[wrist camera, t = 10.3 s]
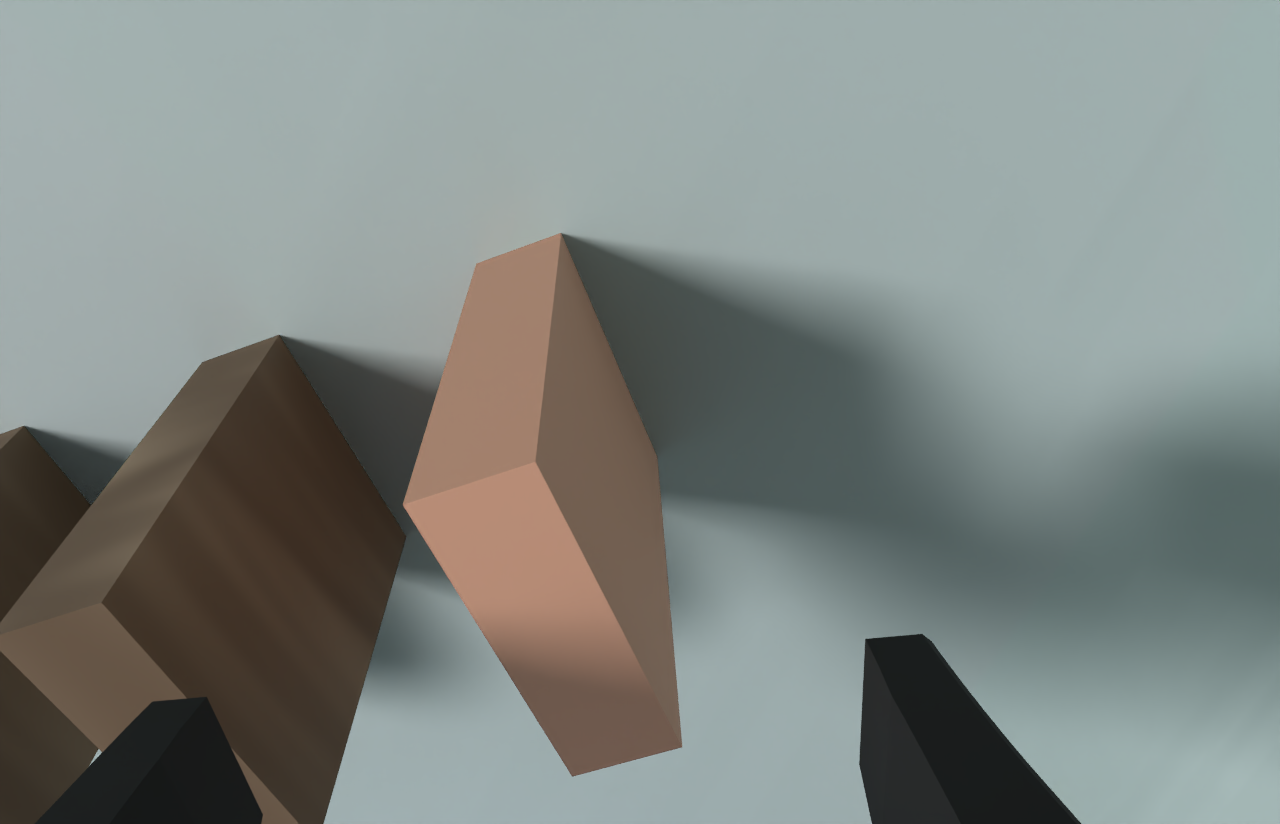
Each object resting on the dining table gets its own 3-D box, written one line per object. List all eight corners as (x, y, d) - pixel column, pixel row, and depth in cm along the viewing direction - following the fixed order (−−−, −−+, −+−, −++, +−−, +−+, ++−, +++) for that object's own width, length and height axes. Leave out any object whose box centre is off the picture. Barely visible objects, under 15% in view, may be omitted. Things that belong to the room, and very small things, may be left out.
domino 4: (279, 334, 17) (101, 602, 11) (406, 536, 19) (316, 843, 14) (202, 362, 17) (-13, 638, 11) (337, 557, 20) (220, 869, 14)
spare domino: (561, 232, 16) (535, 460, 10) (657, 457, 19) (682, 746, 13) (476, 263, 16) (401, 504, 10) (582, 480, 19) (571, 776, 13)
